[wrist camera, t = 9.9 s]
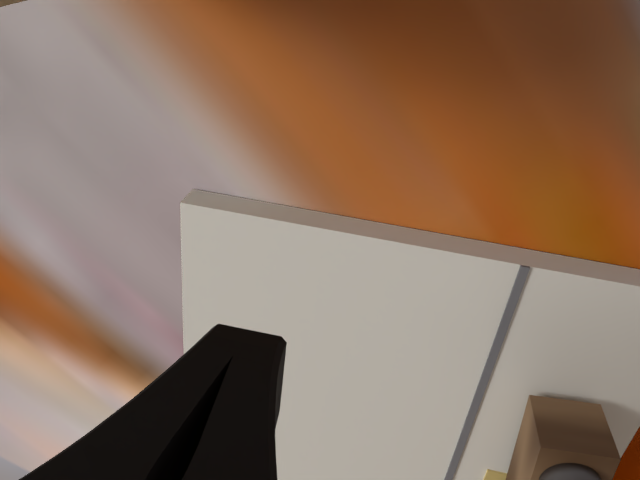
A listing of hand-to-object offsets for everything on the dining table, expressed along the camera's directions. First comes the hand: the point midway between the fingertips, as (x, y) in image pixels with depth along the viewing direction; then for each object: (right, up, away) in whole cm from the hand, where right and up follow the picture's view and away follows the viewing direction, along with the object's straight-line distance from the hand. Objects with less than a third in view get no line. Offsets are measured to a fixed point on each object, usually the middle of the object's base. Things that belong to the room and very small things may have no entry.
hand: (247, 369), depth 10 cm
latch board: (+4, -5, +13) cm, 15 cm away
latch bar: (+10, -9, +12) cm, 18 cm away
